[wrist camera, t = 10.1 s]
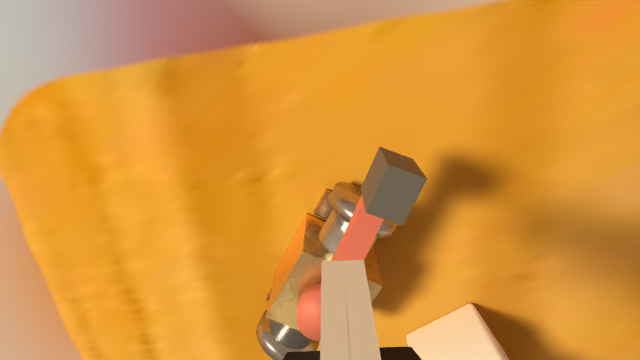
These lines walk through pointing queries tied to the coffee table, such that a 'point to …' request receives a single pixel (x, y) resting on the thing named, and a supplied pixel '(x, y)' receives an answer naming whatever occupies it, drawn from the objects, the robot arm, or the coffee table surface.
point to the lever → (367, 222)
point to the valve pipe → (312, 269)
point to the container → (456, 338)
